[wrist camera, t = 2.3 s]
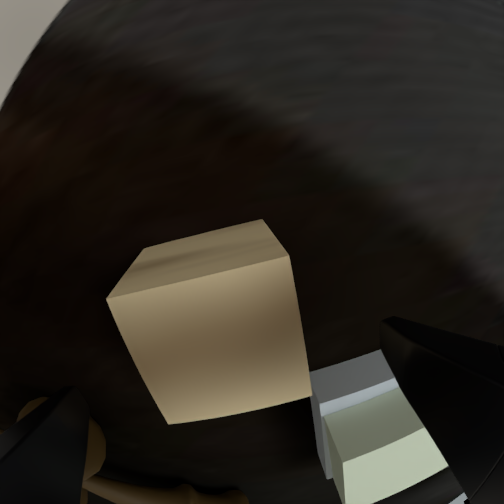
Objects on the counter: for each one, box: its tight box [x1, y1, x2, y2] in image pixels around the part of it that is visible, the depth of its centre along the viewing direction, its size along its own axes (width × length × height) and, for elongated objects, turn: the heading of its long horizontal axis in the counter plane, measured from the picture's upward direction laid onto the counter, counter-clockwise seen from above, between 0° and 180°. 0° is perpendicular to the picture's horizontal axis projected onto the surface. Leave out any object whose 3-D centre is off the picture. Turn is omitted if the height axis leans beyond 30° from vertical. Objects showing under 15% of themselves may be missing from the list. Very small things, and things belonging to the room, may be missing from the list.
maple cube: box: [106, 219, 312, 424], centre depth 11 cm, size 5×5×5 cm
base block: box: [309, 349, 399, 479], centre depth 16 cm, size 8×8×3 cm
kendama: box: [0, 397, 249, 504], centre depth 14 cm, size 6×10×20 cm
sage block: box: [324, 387, 448, 504], centre depth 13 cm, size 7×7×3 cm
